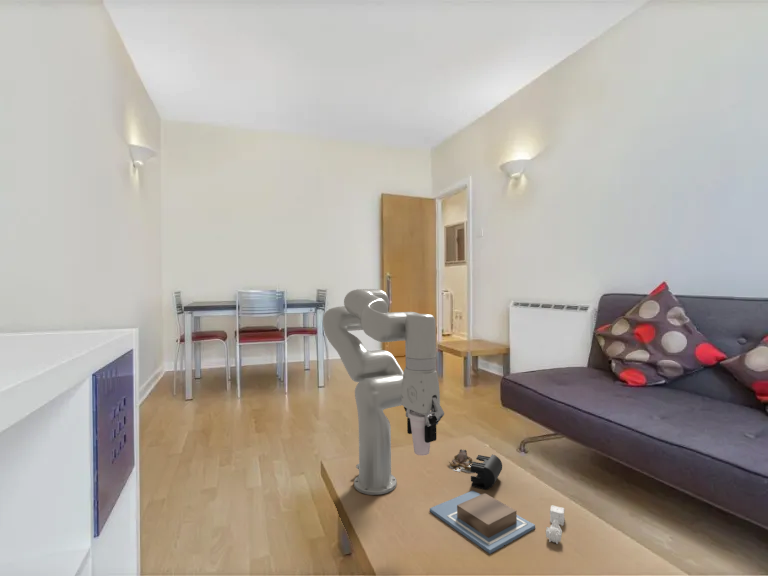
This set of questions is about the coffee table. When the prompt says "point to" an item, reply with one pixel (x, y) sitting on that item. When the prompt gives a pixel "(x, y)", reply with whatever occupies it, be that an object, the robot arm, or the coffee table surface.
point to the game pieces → (555, 524)
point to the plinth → (486, 514)
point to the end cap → (485, 471)
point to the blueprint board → (491, 544)
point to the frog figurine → (462, 462)
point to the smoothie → (419, 433)
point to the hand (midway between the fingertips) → (421, 436)
